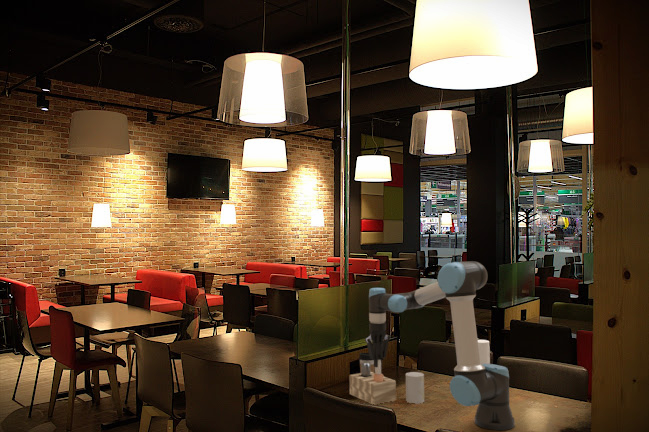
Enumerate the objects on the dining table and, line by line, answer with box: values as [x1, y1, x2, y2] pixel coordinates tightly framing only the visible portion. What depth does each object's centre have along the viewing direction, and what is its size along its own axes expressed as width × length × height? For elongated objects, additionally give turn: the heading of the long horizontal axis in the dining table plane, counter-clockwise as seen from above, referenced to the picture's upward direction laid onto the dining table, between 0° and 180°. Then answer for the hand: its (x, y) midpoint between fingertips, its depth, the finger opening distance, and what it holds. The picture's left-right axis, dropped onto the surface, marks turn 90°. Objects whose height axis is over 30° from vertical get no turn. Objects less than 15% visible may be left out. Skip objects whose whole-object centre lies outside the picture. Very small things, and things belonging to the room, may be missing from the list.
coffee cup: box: [358, 352, 375, 373], centre depth 280 cm, size 8×8×15 cm
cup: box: [405, 371, 425, 405], centre depth 250 cm, size 8×8×12 cm
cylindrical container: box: [477, 339, 491, 364], centre depth 258 cm, size 7×7×25 cm
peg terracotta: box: [373, 373, 384, 382], centre depth 252 cm, size 4×4×9 cm
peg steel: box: [360, 362, 371, 377], centre depth 261 cm, size 4×4×9 cm
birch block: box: [348, 372, 397, 406], centre depth 256 cm, size 20×12×9 cm, turn 31°
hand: (378, 373), depth 252 cm, fingers closed
